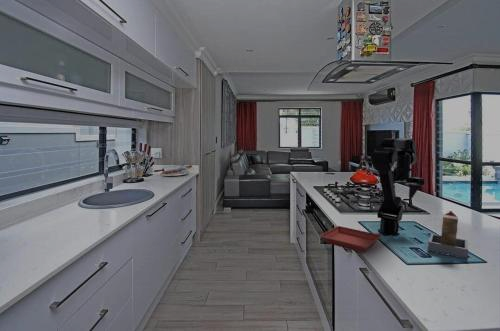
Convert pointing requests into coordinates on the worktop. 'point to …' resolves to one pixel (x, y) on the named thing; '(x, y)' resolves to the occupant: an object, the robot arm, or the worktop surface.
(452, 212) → the onion
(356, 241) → the plant saucer
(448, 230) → the handle block
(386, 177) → the robot arm
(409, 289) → the worktop surface
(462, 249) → the box
